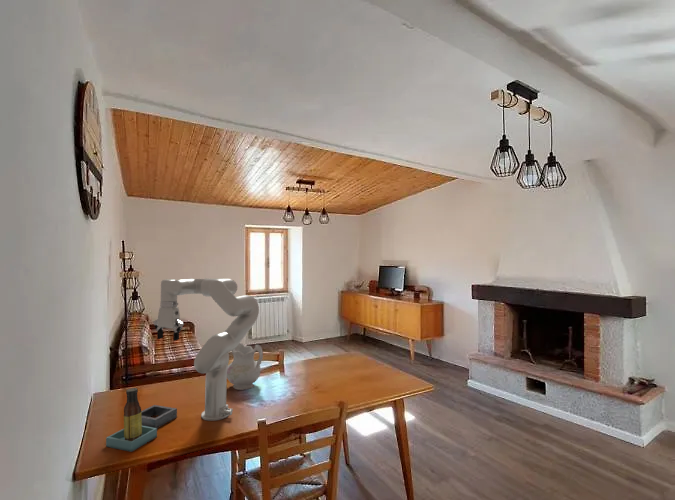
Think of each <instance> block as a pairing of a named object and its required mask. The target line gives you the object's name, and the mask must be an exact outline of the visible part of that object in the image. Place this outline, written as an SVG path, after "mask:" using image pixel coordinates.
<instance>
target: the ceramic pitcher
mask: <svg viewBox="0 0 675 500" xmlns="http://www.w3.org/2000/svg"><path fill="white" fill-rule="evenodd" d="M256 352H258V354H259V357H258V359H257V361H255V353H256ZM231 353H232V356H233V359H232V361H231V363H230V364H228V368H227V380H228V382H229V383H231V384H232V385H233V386H232V388H233V389H235V390H237V391H242V390H244V391H245V390H249V389H250V390H251V389H252V388H255V385H254V383H256V382H257V380H258V379H259V377H260V375H261V365H262V361H263V359H264V356H263V355H264V353H263V348H262V346H261V344H254V347H252V346H251V345H244V344H243V343H241V342H240V343H239V344H238V346H237V347H236V348H235V349H234V350H232V351H231Z"/></svg>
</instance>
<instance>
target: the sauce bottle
mask: <svg viewBox="0 0 675 500" xmlns="http://www.w3.org/2000/svg"><path fill="white" fill-rule="evenodd" d="M138 390H139V389H138V388H137V387H132V388H129V389H126V403H125V405H124V407H123V429H124V438H125V440H128V441H133V440H135V439H137V438H139V437H140V436H141V434H142V418H141V411H142V407H141V405H140V402H139V399H138V393H139V391H138Z"/></svg>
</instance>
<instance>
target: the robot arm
mask: <svg viewBox="0 0 675 500" xmlns="http://www.w3.org/2000/svg"><path fill="white" fill-rule="evenodd" d="M237 290H238V284H237V282H236V281H235V280H233V279H232V278H182V279H171V278H169V279H167V278H166V279H162V280H161V281H160V301H159V302H160V306H159V309H158V314H157V319H156V320H154V321H153V325H154V328H155V331H157V333H156V334H157V335H156V339H157V340H161V339H163V338H164V328H165V329H172V331H173V335H172V336H173V342H175V341H179V339H180V332H181V330H182V329H183V327H184V325H185V324H184V322H183V321H181V314H180V308H179V307H178V306H179V302H178V296H184V295H185V296H186V295H193V294H194V295H195V294H199V295H203V297H209V298H210V297H211V298H212V300H214V302H215V303H216V304H217V305H218V306H219V307H220V308H221V310H222V311H223V312H224V313H225V314H226V315H227V316H230V317H235V319H233V321H231V323H230V325H229V326H228V327H227V328H226V329H225V330H223V331H222V332H219V333H216V334H214V335H212V336H211V337H209V339H208V340H206V342H205V344H204V345H203V346H202V347H201V348H200V350H199V351H198V353H197V354H196V356H195V357H194V361H193V366H194V369H195V370H196V372H197V373H200V374H205V383H204V387H205V389H204V411H202V412H201V415H200V416H201V417H200V418H201V419H202V420H204V421H209V422H210V421H212V422H214V421H215V422H216V421H220V420H223V419H225V418H228V417H229V416H231V415H233V411H234V409H233V408H229V404H227V384H228V383H227V382H228V381H227V380H228V379H227V368H228V365H229V361H230V353H231V352H232V350H234V349H235V348H236V347H237V346H238V344H239V343H241V342H242V340H244V338H245V337H246V335H247V334H248V332H249V331H250V330H251V329H252V328H253V326H254V325H255V323H256V321H257V320H258V317H259V314H260V309H259V308H260V307H259V303H258V301H257V299H256V298H255V297H254V296H252V295H249V294H248V295H240V296H235V294H236V293H237Z"/></svg>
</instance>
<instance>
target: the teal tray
mask: <svg viewBox="0 0 675 500" xmlns="http://www.w3.org/2000/svg"><path fill="white" fill-rule="evenodd" d="M157 437H158V428H152V427H147V426H142V434H141V436H140V437H139V438H137V439H135V440H133V441H128V440H125V438H124V428H122V429H120V430H118V431H116V432H115V433H113V434H110V435H109V436H106V438H105V447H107V448H111V449H115V450H121V451H124V452H131V453H133V452H134V451H135V450H138V449H139V448H141V447H143V446H144V445H146V444H148V443H149V442H151V441H153V440H154V439H156V438H157ZM147 442H148V443H147Z"/></svg>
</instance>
